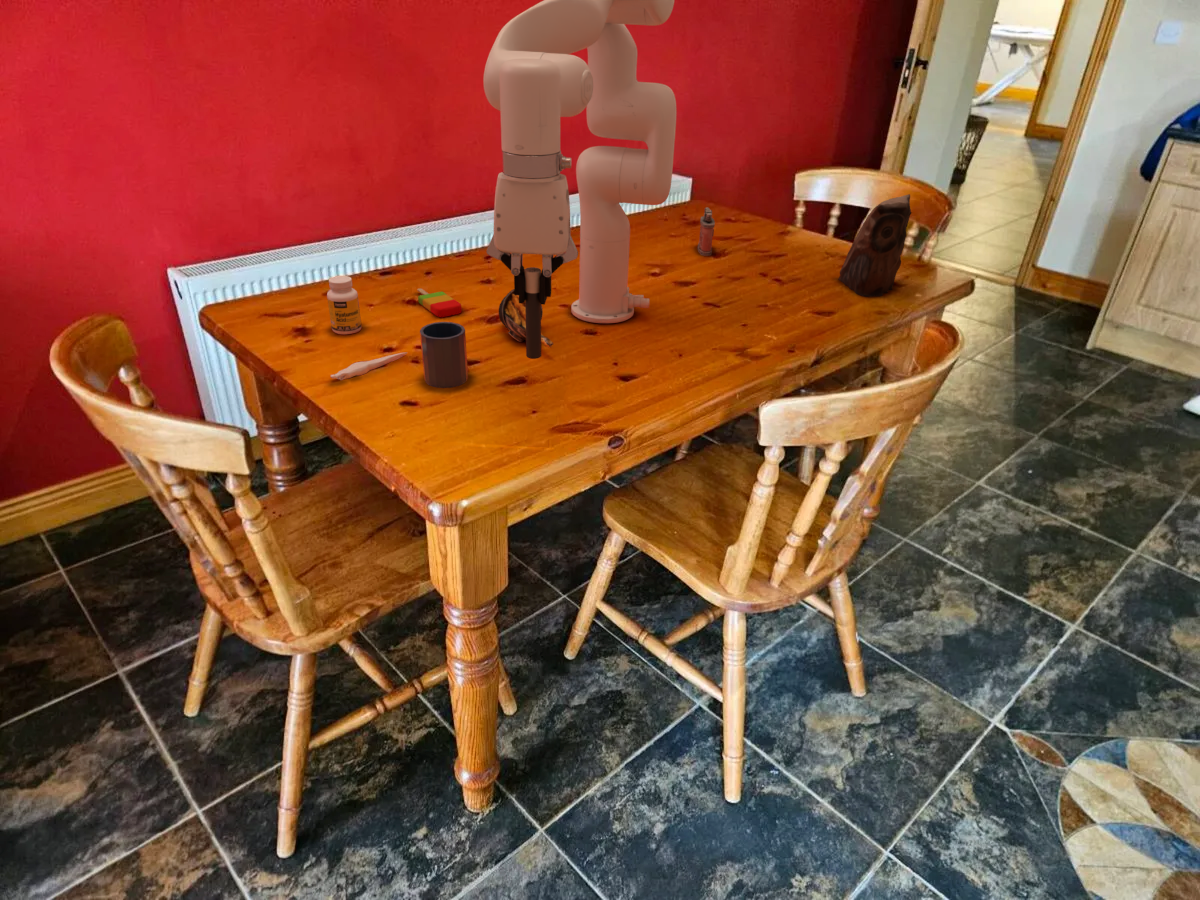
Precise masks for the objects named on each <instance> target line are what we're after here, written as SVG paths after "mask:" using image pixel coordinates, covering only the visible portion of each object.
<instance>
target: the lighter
mask: <svg viewBox="0 0 1200 900" xmlns="http://www.w3.org/2000/svg"><path fill="white" fill-rule="evenodd" d="M715 221H716V220H715V219H714V218H713V210H712V209H710V207H707V206H706V207H705V208H704V212H703V216H700V220H699V223H700V229H699V240H698V243H697V252H698V253H699V255H701V256H703V257H704V256H705V257H706V256H707V257H708V256H712V252H713V247H712V244H713V237H714V232H715V229H714V228H715V223H716V222H715Z"/></svg>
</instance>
